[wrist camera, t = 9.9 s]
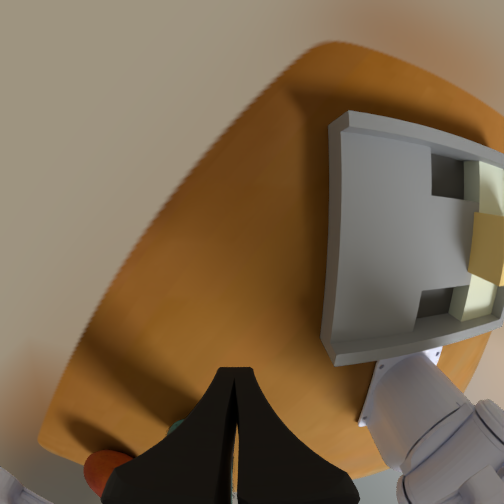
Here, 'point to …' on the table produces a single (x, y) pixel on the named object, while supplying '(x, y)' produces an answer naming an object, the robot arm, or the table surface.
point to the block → (488, 248)
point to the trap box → (405, 239)
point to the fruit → (102, 468)
